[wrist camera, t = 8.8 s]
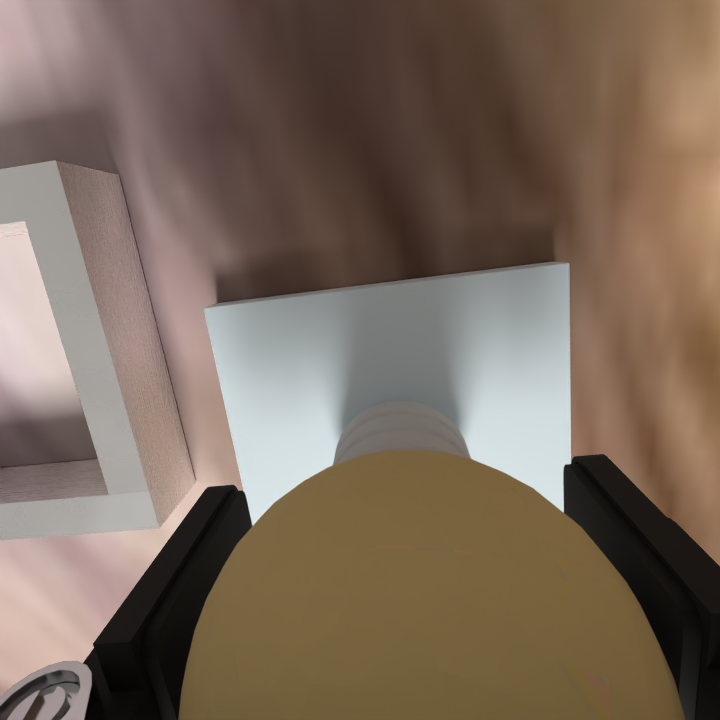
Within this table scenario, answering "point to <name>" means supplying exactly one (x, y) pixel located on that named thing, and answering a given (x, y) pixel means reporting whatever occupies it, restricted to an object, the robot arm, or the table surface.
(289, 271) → the table surface
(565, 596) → the light bulb
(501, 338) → the pad
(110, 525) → the frame
